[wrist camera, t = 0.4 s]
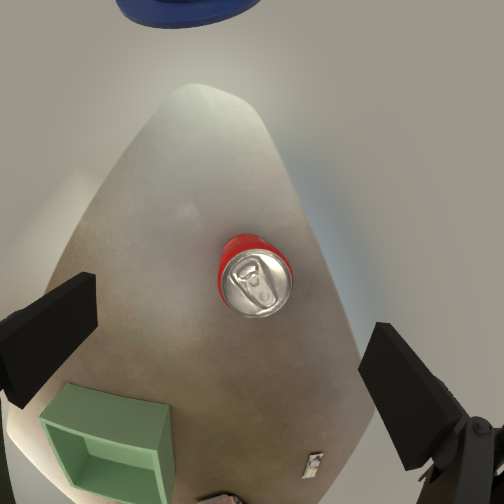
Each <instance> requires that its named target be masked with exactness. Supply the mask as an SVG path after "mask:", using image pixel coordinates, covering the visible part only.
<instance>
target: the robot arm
mask: <svg viewBox="0 0 504 504" xmlns="http://www.w3.org/2000/svg"><path fill="white" fill-rule="evenodd" d="M157 1H161V2H169V3H183V2H192V1H198V0H157ZM97 327H98V321H97V304H96V275H95V274H91V273H87V272H81V273H79V274H78V275H76V276H74V277H73V278H71V279H69V280H68V281H66V282H65V283H63V284H61V285H60V286H58V287H57V288H55V289H53V290H52V291H50V292H49V293H47V294H46V295H44V296H43V297H41V298H39V299H38V300H37V301H35V302H33V303H32V304H30V305H29V306H27V307H26V308H24V309H21V310H18V311H15V312H14V313H12V314H11V315H9V316H8V317H7V318H6V319H3V320H2V321H0V391H1V390H2V389H3V390H4V392H5V394H6V397H7V399H8V401H9V402H11V403H12V404H14V405H16V406H17V407H19V408H20V409H22V410H23V409H24V407H25V406H26V405H27V404H28V403H29V401H30V400H31V399H32V398H33V397H34V396H35V394H36V393H37V392H38V391H39V390H40V389H41V387H42V386H43V385H44V384H45V383H46V382H47V381H48V379H49V378H50V377H51V376H52V375H53V374H54V373H55V372H56V370H57V369H58V368H59V367H60V366H61V365H62V364H63V363H64V362H65V361H66V359H67V358H68V357H69V356H70V355H71V354H72V353H73V352H74V351H75V350H76V349H77V348H78V347H79V345H80V344H81V343H82V342H83V341H84V340H85V339H86V338H87V337H88V336H89V335H90V334H91V333H92V332H93V331H94V330H95V329H96V328H97ZM358 371H359V373H360V375H361V377H362V379H363V381H364V383H365V385H366V387H367V389H368V391H369V393H370V395H371V397H372V399H373V401H374V403H375V405H376V407H377V410H378V412H379V414H380V416H381V418H382V420H383V422H384V424H385V426H386V428H387V430H388V432H389V435H390V437H391V439H392V441H393V444H394V446H395V448H396V450H397V452H398V455H399V457H400V459H401V461H402V464H403V466H404V468H405V471H408V470H413V469H417V468H421V467H422V466H423V465H424V464H425V463H426V462H427V461H428V460H429V459H430V457H432V460H433V462H434V463H433V464H432V465H431V466H430V468H429V469H428V470H427V471H426V472H425V473H424V474H423V475H422V476H421V477H420V478H419V480H418V481H419V482H420V481H421V480H422V479H423V478H424V477H426V479H425V482H424V485H423V488H422V490H421V493H420V496H419V498H418V501H417V503H416V504H504V471H503V472H502V473H501V474H500V475H497V470H498V469H499V468H500V467H501V466H502V465H503V464H504V425H503V426H502V428H493V427H492V425H491V424H490V423H489V422H488V421H487V420H486V419H484V418H481V417H477V416H475V417H471V418H470V417H469V415H468V414H467V413H466V411H465V410H464V409H463V407H462V406H461V405H460V403H459V402H458V401H457V400H456V398H455V397H453V394H452V393H451V392H450V391H448V388H447V387H446V386H445V384H444V383H443V382H442V381H441V380H439V379H438V378H437V377H435V376H434V375H433V374H432V373H431V372H430V371H429V369H428V368H427V367H426V366H425V364H424V363H423V362H422V361H421V360H420V358H419V357H418V356H417V355H416V354H415V352H414V351H413V350H412V349H411V348H410V346H409V345H408V344H407V343H406V342H405V340H404V339H403V338H402V337H401V336H400V335H399V334H398V332H397V331H396V330H395V329H394V328H393V326H392V325H391V324H390V323H381V322H376V325H375V328H374V330H373V333H372V336H371V339H370V341H369V343H368V346H367V349H366V351H365V353H364V356H363V358H362V361H361V363H360V365H359V368H358ZM0 504H16V503H15V499H14V495H13V491H12V486H11V482H10V477H9V472H8V466H7V460H6V454H5V447H4V439H3V428H2V412H1V399H0Z"/></svg>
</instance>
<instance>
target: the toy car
mask: <svg viewBox="0 0 504 504" xmlns="http://www.w3.org/2000/svg"><path fill="white" fill-rule="evenodd" d="M196 504H242V502H240V500H239V498H238V496H236V495H233V496H230V497H229V496H228V495H225V494H224V495H221V496H217V497H214V498H211V499H207V500H204V501H200V502H197V503H196Z"/></svg>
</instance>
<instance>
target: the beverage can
mask: <svg viewBox="0 0 504 504" xmlns="http://www.w3.org/2000/svg"><path fill="white" fill-rule="evenodd" d="M292 285H293V276H292V271H291V267H290V265H289V263H288V261H287V260H286V258H285V257H284V256H283V255H282V254H281V253H280V252H279V251H278V250H276V249H275V248H274V247H272V246H271V245H269V244H268V243H267V242H265V241H264V240H263V239H261V238H260V237H258V236H255V235H252V234H242V235H238V236H236V237H234V238H232V239H231V240H230V241H229V242H228V243H227V244H226V245H225V247H224V249H223V252H222V256H221V261H220V267H219V273H218V289H219V292H220V295H221V297H222V299H223V301H224V302H225V303H226V305H227V306H228V307H229V308H231V309H232V310H233V311H235V312H237V313H238V314H240V315H243V316H246V317H250V318H261V317H265V316H268V315H271V314H273V313H275V312H276V311H278V310H279V309H280V308H281V307H282V306H283V305H284V304H285V302H286V301H287V299H288V297H289V295H290V292H291V289H292Z"/></svg>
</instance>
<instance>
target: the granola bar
mask: <svg viewBox="0 0 504 504" xmlns="http://www.w3.org/2000/svg"><path fill="white" fill-rule="evenodd" d="M323 454H324V453H323ZM323 454H318V455H310V458H309V461H308V464H307V467H306V470H305V473H304V476H303V477H302V479H304V478H308V477H315V473H316V471H317V468H318V466H319V463H320V460H321V457H322V456H323Z"/></svg>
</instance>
